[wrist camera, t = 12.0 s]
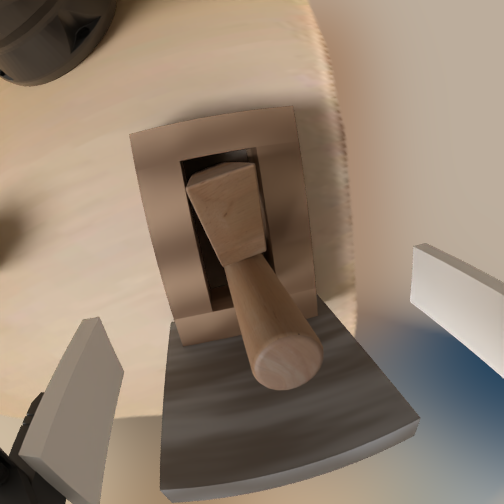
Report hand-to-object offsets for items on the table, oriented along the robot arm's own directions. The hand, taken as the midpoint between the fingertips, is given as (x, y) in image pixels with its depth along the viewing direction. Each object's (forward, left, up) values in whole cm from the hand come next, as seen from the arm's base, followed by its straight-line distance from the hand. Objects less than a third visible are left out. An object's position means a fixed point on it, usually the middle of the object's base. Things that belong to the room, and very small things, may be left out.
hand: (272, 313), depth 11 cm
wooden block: (0, 0, -19) cm, 19 cm away
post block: (0, 0, -19) cm, 19 cm away
